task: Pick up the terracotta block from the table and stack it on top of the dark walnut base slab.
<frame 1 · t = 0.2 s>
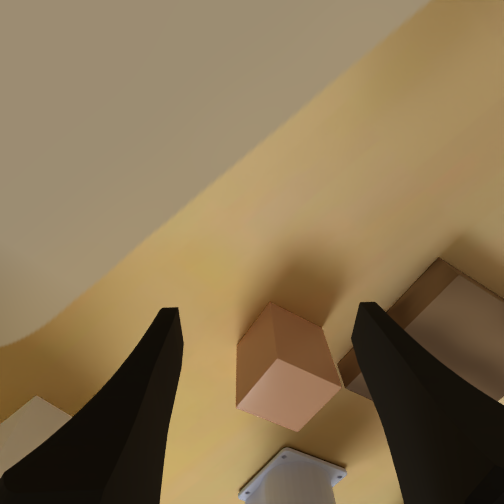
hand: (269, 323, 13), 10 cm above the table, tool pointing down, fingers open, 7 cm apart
terracotta block: (278, 336, 27), on the table
milk: (52, 452, 33), on the table
walnut base slab: (437, 344, 28), on the table
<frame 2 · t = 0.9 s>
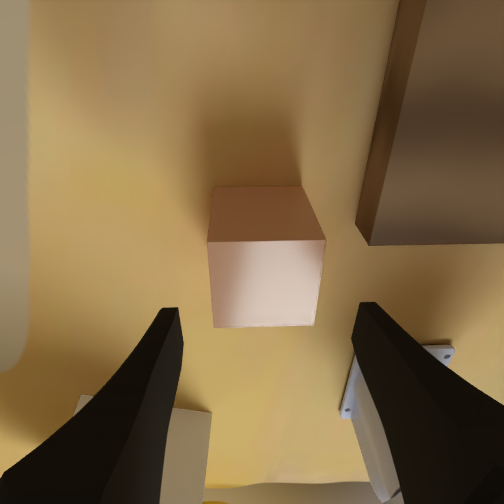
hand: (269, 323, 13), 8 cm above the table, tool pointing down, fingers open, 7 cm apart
terracotta block: (257, 224, 20), on the table
milk: (140, 436, 33), on the table
walnut base slab: (488, 121, 17), on the table
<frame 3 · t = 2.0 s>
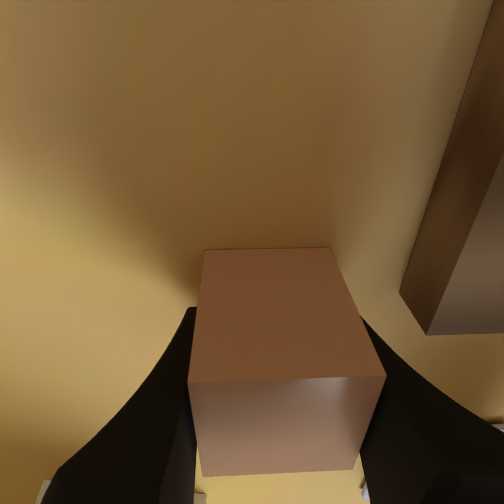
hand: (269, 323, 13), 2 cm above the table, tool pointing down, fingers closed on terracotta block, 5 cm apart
terracotta block: (265, 296, 15), on the table, touching gripper
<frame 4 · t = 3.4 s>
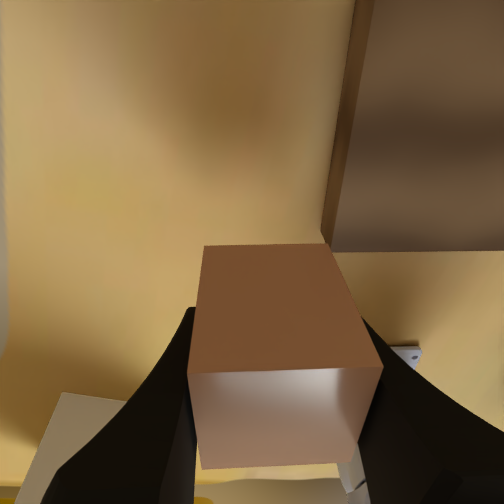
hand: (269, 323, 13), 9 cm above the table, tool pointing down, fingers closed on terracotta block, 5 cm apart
terracotta block: (264, 292, 15), point 7 cm above the table, touching gripper
milk: (121, 433, 34), on the table
walnut base slab: (441, 136, 18), on the table
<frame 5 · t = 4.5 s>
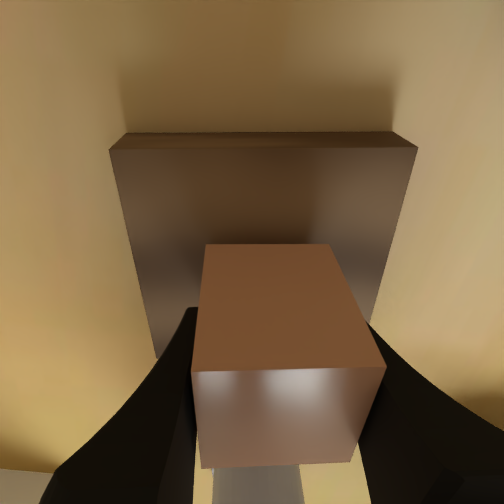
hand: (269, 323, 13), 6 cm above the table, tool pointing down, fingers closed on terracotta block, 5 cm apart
terracotta block: (264, 291, 15), point 4 cm above the table, touching gripper
milk: (24, 496, 34), on the table
walnut base slab: (259, 245, 18), on the table
when the fingers open (6 cm above the table, at t = 5.0 s): terracotta block drops 1 cm, resting on walnut base slab.
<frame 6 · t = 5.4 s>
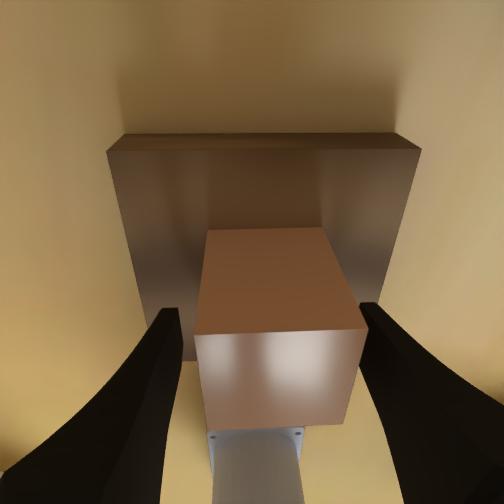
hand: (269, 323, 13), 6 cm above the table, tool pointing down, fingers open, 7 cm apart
terracotta block: (264, 274, 16), point 2 cm above the table, touching walnut base slab
walnut base slab: (259, 247, 18), on the table
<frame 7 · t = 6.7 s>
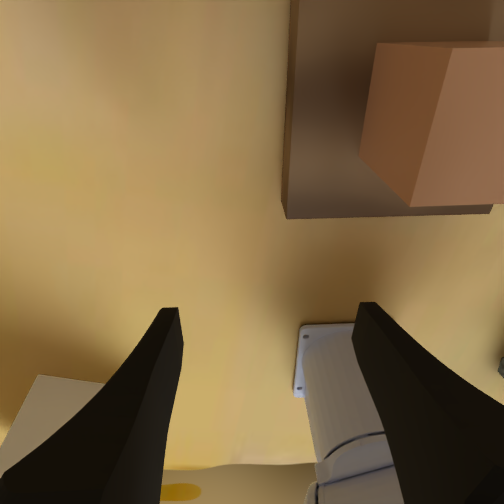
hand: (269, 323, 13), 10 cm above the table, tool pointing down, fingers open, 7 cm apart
terracotta block: (418, 103, 16), point 2 cm above the table, touching walnut base slab
milk: (101, 417, 34), on the table
walnut base slab: (395, 96, 18), on the table
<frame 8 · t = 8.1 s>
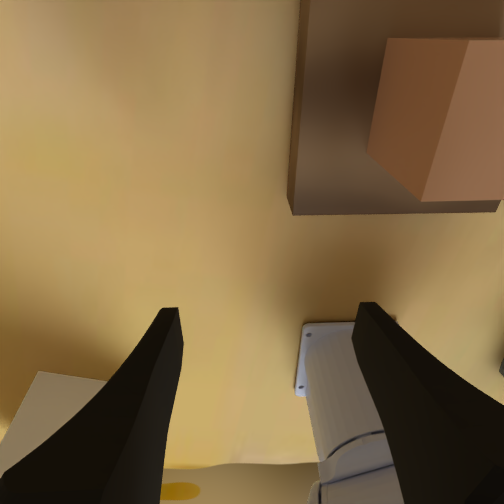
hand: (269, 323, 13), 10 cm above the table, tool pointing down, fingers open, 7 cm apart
terracotta block: (427, 99, 16), point 2 cm above the table, touching walnut base slab
milk: (101, 415, 34), on the table
walnut base slab: (403, 93, 18), on the table
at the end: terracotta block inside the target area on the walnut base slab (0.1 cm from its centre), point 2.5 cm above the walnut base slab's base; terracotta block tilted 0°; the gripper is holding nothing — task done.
